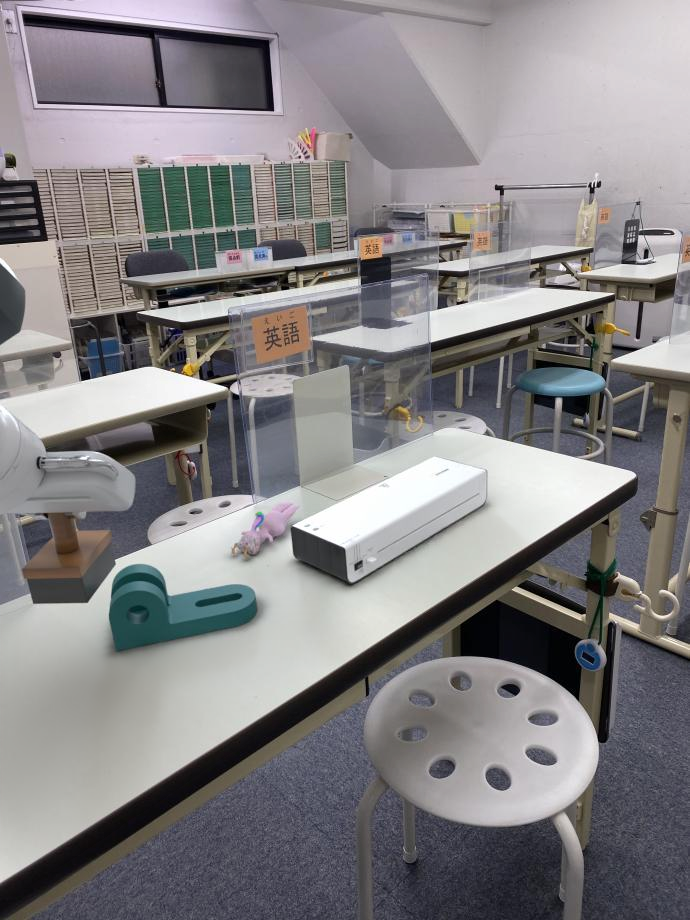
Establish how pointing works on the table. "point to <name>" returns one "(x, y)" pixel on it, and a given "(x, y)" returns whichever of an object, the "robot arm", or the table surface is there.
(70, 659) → the table surface
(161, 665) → the table surface
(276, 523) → the rabbit figure
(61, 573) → the hand brush
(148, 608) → the bracket
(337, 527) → the laminator
